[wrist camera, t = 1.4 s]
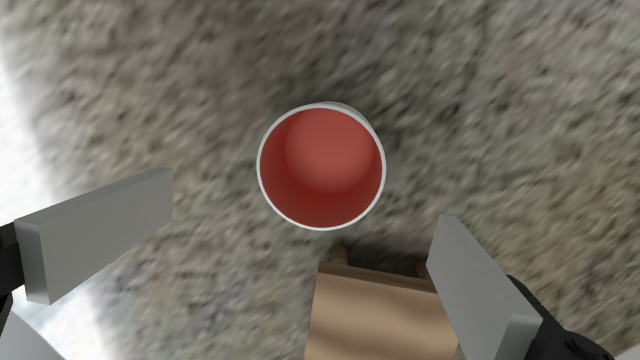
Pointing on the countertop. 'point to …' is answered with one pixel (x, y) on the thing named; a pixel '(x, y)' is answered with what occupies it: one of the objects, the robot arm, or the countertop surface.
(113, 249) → the robot arm
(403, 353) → the stool
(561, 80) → the countertop surface
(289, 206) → the cup
